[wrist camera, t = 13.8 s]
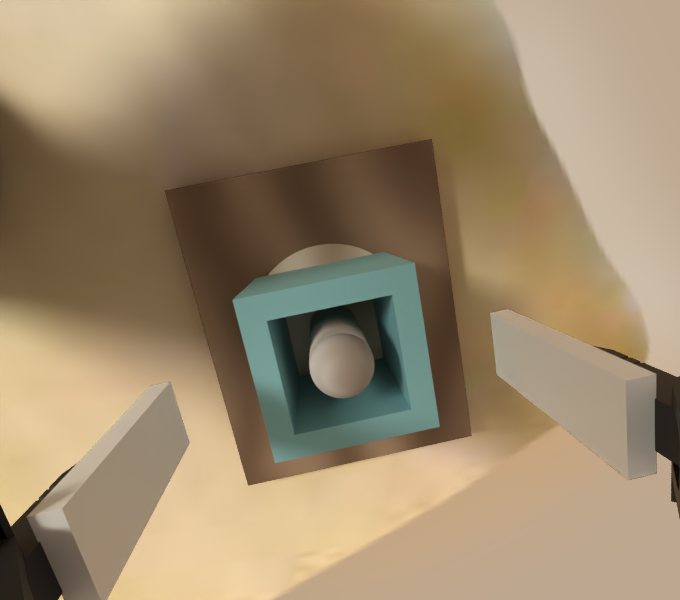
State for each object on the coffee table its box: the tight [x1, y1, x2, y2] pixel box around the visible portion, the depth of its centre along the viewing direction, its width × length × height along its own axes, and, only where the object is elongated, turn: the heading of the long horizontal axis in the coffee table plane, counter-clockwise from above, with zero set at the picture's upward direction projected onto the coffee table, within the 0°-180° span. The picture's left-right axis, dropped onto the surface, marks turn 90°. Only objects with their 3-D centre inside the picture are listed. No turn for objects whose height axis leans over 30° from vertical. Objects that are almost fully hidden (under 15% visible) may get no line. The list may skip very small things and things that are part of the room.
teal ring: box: [232, 252, 440, 463], centre depth 20 cm, size 8×8×7 cm
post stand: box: [165, 139, 472, 485], centre depth 21 cm, size 16×20×10 cm
